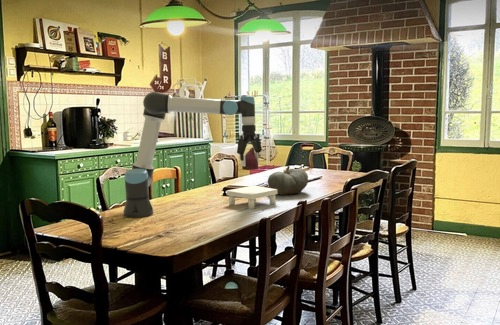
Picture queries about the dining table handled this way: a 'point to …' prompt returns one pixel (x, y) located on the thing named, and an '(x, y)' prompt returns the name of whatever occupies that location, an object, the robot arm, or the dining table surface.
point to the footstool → (251, 194)
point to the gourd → (288, 181)
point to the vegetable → (250, 160)
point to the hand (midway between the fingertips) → (250, 165)
